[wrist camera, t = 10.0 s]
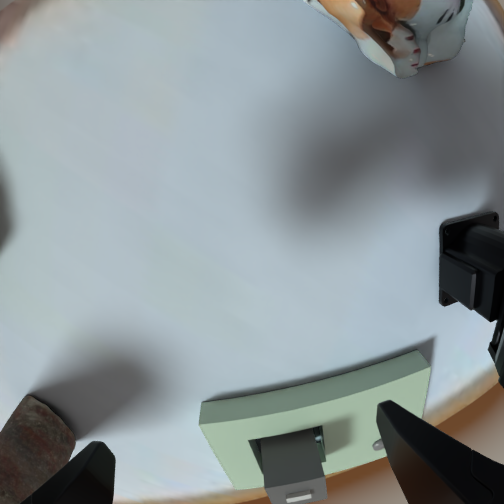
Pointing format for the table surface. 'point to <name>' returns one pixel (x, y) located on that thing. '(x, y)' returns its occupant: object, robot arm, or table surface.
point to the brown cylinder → (31, 449)
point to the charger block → (293, 468)
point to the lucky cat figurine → (401, 29)
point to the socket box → (315, 417)
